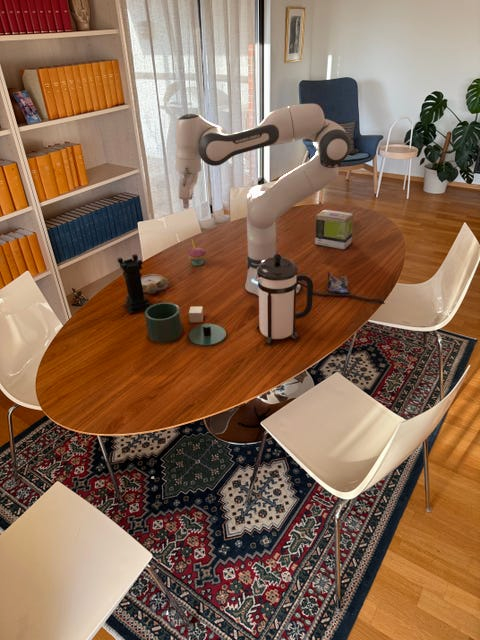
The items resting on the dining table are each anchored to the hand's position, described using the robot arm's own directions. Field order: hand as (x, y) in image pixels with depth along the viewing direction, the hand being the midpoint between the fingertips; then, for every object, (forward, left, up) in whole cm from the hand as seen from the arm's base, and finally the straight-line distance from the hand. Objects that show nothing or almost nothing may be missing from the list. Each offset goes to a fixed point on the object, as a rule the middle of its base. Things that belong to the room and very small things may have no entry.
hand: (188, 203), depth 169 cm
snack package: (-56, -1, -37) cm, 67 cm away
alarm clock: (+19, -4, -37) cm, 41 cm away
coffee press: (-32, +30, -37) cm, 58 cm away
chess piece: (+22, +11, -37) cm, 44 cm away
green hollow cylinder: (+8, +30, -37) cm, 48 cm away
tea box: (-60, -46, -37) cm, 84 cm away
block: (-2, +21, -37) cm, 42 cm away
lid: (-7, +32, -36) cm, 49 cm away
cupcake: (+3, -27, -37) cm, 45 cm away
